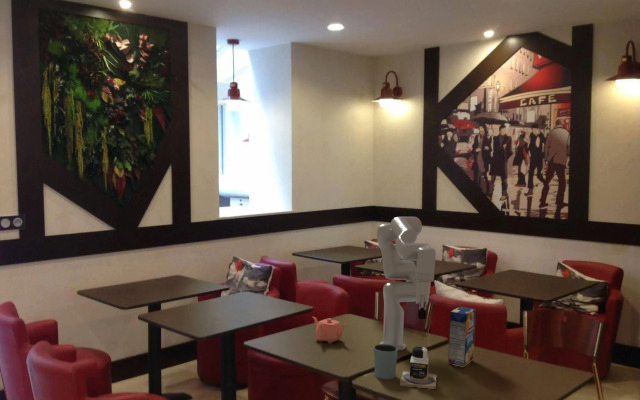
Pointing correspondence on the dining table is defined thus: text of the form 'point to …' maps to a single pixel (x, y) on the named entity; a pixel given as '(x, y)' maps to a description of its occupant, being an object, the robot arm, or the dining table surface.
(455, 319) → the juice carton
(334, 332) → the teapot
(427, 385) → the board
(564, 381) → the dining table surface
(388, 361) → the blue-grey cup
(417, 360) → the medicine bottle
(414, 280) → the robot arm
